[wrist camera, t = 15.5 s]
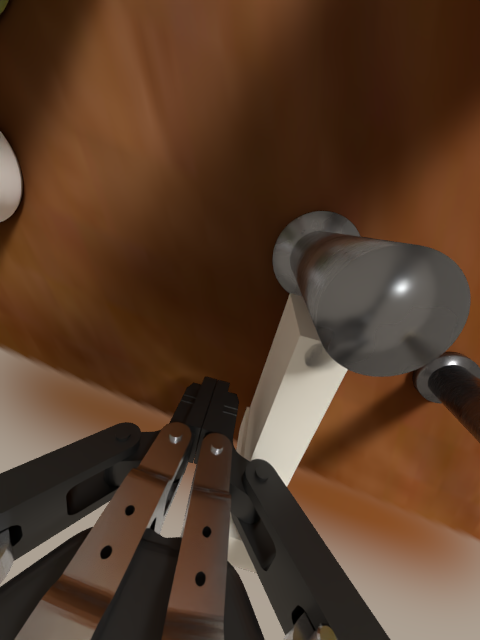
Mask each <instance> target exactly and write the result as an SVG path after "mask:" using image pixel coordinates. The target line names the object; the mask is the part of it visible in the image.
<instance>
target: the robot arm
mask: <svg viewBox="0 0 480 640" xmlns="http://www.w3.org/2000/svg"><path fill="white" fill-rule="evenodd" d="M216 383H217V384H216ZM229 384H230V383H228V382H225V381H221V380H218V381H217V379H213V378H210V377H206V376H205V378H204V380H203V382H202V385H200V384H197V383H193V384H191V385H190V386H189V387H187V389H186V391H185V393H184V395H183V397H182V399H181V401H180V403H179V405H178V407H177V409H176V411H175V413H174V415H173V417H172V419H171V421H170V423H169V424H167V425H166V426H164V427H163V428H162V429H161V430H159V431H155V432H141V431H140V429H139V427H138V426H137V425H135V424H133V423H126V422H125V423H119V424H117V425H114V426H112V427H110V428H107V429H105V430H102V431H100V432H98V433H95V434H93V435H91V436H88V437H86V438H83V439H81V440H79V441H76V442H74V443H72V444H70V445H67V446H65V447H63V448H60V449H57V450H55V451H53V452H50V453H48V454H46V455H43V456H41V457H39V458H36V459H34V460H31V461H29V462H27V463H24V464H22V465H20V466H17V467H15V468H13V469H10V470H8V471H6V472H3V473H1V474H0V583H1V582H2V581H3V580H4V578H5V577H6V575H7V574H8V572H9V571H10V568H11V566H12V563H13V561H14V560H16V559H18V558H19V557H21V556H22V555H24V554H26V553H27V552H29V551H30V550H32V549H34V548H35V547H37V546H38V545H40V544H42V543H43V542H45V541H46V540H48V539H50V538H51V537H53V536H54V535H56V534H58V533H59V532H61V531H62V530H64V529H66V528H67V527H69V526H70V525H72V524H74V523H75V522H76V521H78V520H80V519H81V518H83V517H85V516H86V515H88V514H89V513H91V512H93V511H94V510H96V509H97V508H99V507H101V506H102V505H104V504H105V503H107V502H109V501H110V500H111V501H110V502H109V504H108V505H107V507H106V508H105V510H104V511H103V513H102V514H101V516H100V517H99V519H98V520H97V522H96V524H95V525H94V527H91V528H89V529H86V530H84V531H82V532H80V533H78V534H76V535H75V536H73V537H72V538H70V539H68V540H67V541H65V542H64V543H63V544H61V545H60V546H58V547H57V548H56V549H54V550H53V551H51V552H50V553H48V554H47V555H45V556H44V557H43V558H41V559H40V560H38V561H37V562H36V563H34V564H33V565H31V566H30V567H29V568H27V569H25V570H24V571H23V572H21V573H20V574H18V575H17V576H15V577H14V578H12V579H11V580H10V581H8V582H7V583H5V584H4V585H3V586H1V587H0V640H264V637H263V634H262V632H261V629H260V626H259V624H258V621H257V619H256V616H255V613H254V611H253V608H252V605H251V603H250V600H249V597H248V595H247V592H246V590H245V587H244V585H243V583H242V581H241V579H240V577H239V575H238V573H237V572H236V570H235V569H234V567H233V566H232V565H231V564H230V563H229V561H227V559H228V543H229V528H230V512H231V516H232V520H233V522H234V524H235V526H236V528H237V531H238V533H239V535H240V537H241V539H242V541H243V544H244V546H245V548H246V550H247V552H248V555H249V557H250V559H251V561H252V563H253V565H254V568H255V570H256V572H257V574H258V576H259V579H260V581H261V583H262V585H263V587H264V589H265V592H266V593H267V596H268V598H269V600H270V602H271V605H272V607H273V609H274V611H275V613H276V616H277V618H278V620H279V622H280V624H281V626H282V629H283V631H284V633H285V635H286V636H285V638H284V640H390V638H389V637H388V636H387V634H386V633H385V631H384V630H383V628H382V627H381V625H380V624H379V622H378V621H377V619H376V618H375V616H374V615H373V614H372V612H371V610H370V609H369V608H368V606H367V605H366V603H365V602H364V600H363V599H362V598H361V596H360V594H359V593H358V591H357V590H356V589H355V587H354V585H353V584H352V583H351V581H350V580H349V578H348V577H347V575H346V574H345V572H344V571H343V569H342V568H341V566H340V565H339V563H338V562H337V561H336V559H335V557H334V556H333V555H332V553H331V552H330V550H329V549H328V547H327V546H326V545H325V543H324V541H323V540H322V538H321V537H320V535H319V534H318V532H317V531H316V529H315V528H314V527H313V525H312V524H311V522H310V521H309V519H308V518H307V516H306V515H305V513H304V512H303V510H302V509H301V507H300V506H299V504H298V503H297V501H296V500H295V498H294V497H293V496H292V494H291V493H290V491H289V490H288V488H287V487H286V485H285V484H284V482H283V481H282V479H281V478H280V476H279V475H278V473H277V472H276V470H275V469H274V468H273V466H272V465H271V464H270V463H268V462H267V461H265V460H262V459H254V460H251V461H248V460H247V459H245V458H244V457H242V456H241V455H240V454H239V453H238V452H237V451H236V450H235V448H234V445H233V434H234V428H235V422H236V416H237V410H238V404H239V400H238V397H237V394H234V393H230V392H228V388H229ZM195 454H196V455H195ZM194 458H195V460H194ZM193 460H194V463H195V464H197V465H196V469H195V474H194V478H193V482H192V486H191V491H190V495H189V500H188V505H187V509H186V514H185V519H184V523H183V528H182V532H181V536H180V537H176V538H164V537H162V536H161V535H159V534H160V531H161V528H162V525H163V522H164V520H165V517H166V515H167V513H168V510H169V508H170V506H171V503H172V501H173V499H174V496H175V494H176V491H177V489H178V487H179V485H180V482H181V480H182V477H183V474H184V473H185V470H186V467H187V464H188V462H191V463H193Z"/></svg>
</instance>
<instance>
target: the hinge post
mask: <svg viewBox="0 0 480 640" xmlns="http://www.w3.org/2000/svg"><path fill="white" fill-rule="evenodd" d="M273 269H274V272H275V275H276V278H277V280H278V281H279V283H280V284H281V286H282V287H283V288H284V289H285V290H286V291H287V292H289V293H292V294H295V295H299V296H303V299H304V301H305V304H306V306H307V309H308V311H309V314H310V316H311V318H312V321H313V323H314V326H315V328H316V331H317V333H318V336H319V338H320V341H321V343H322V345H323V347H324V349H325V350H326V352H327V353H328V354H329V356H330V357H331V358H332V359H333V360H334V361H336V362H337V363H338V364H340V365H341V366H343V367H344V368H346V369H348V370H350V371H353V372H355V373H359V374H363V375H368V376H379V377H384V376H394V375H400V374H404V373H408V372H411V371H413V370H416V369H419V368H421V367H423V366H425V365H427V364H428V363H430V362H432V361H433V360H435V359H436V358H438V357H439V356H440V355H441V354H443V353H444V352H445V351H446V350H447V349H448V348H449V347H450V346H451V345H452V344H453V343H454V341H455V340H456V339H457V337H458V336H459V334H460V333H461V331H462V329H463V327H464V325H465V323H466V320H467V317H468V314H469V309H470V290H469V285H468V282H467V280H466V277H465V275H464V274H463V272H462V270H461V269H460V268H459V267H458V265H457V264H456V263H455V262H454V261H453V260H451V259H450V258H449V257H448V256H446V255H444V254H443V253H441V252H439V251H437V250H434V249H432V248H428V247H424V246H420V245H413V244H407V243H400V242H393V241H386V240H380V239H373V238H366V237H360V234H359V232H358V230H357V229H356V227H355V226H354V225H353V224H352V223H351V222H350V221H349V220H348V219H347V218H345V217H343V216H342V215H339V214H337V213H333V212H329V211H316V212H311V213H308V214H304V215H302V216H300V217H298V218H296V219H295V220H293V221H292V222H291V223H289V224H288V225H287V226H286V227H285V228H284V229H283V231H282V232H281V234H280V235H279V237H278V239H277V241H276V244H275V247H274V250H273Z"/></svg>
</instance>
